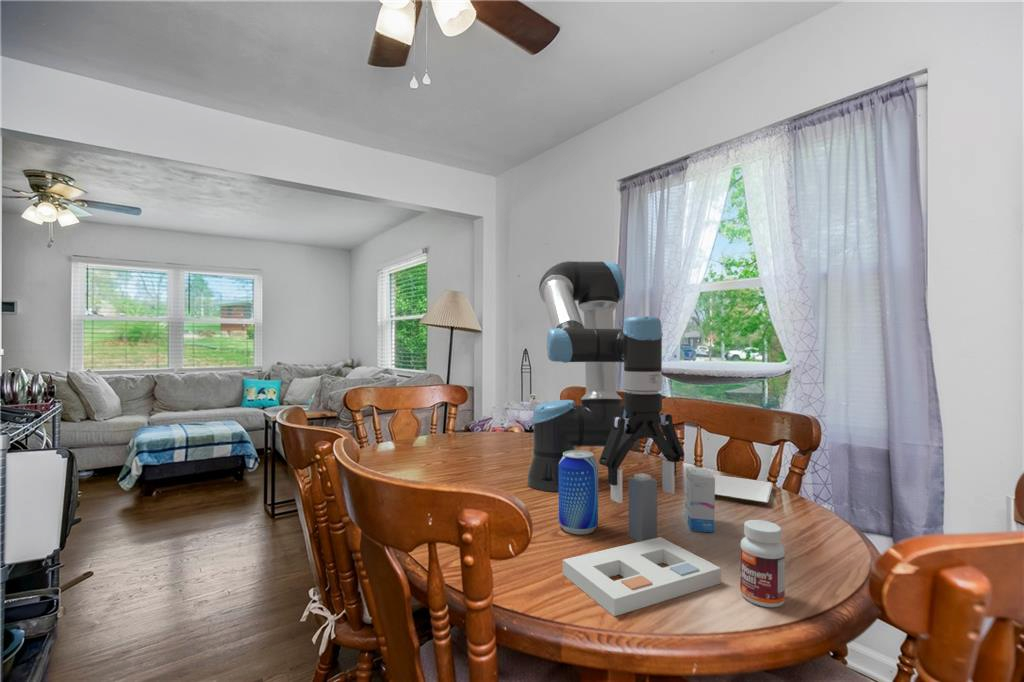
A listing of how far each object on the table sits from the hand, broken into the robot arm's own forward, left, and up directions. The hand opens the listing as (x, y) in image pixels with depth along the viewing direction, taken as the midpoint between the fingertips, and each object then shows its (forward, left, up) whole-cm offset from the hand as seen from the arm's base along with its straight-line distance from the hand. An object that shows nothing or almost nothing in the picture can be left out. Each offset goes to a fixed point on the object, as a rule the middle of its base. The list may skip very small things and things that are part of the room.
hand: (643, 496), depth 96 cm
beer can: (-10, -9, -9) cm, 16 cm away
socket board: (+13, -12, -9) cm, 19 cm away
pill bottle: (+26, +1, -9) cm, 27 cm away
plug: (0, 0, -9) cm, 9 cm away
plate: (-13, +42, -9) cm, 45 cm away
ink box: (0, +16, -9) cm, 18 cm away
